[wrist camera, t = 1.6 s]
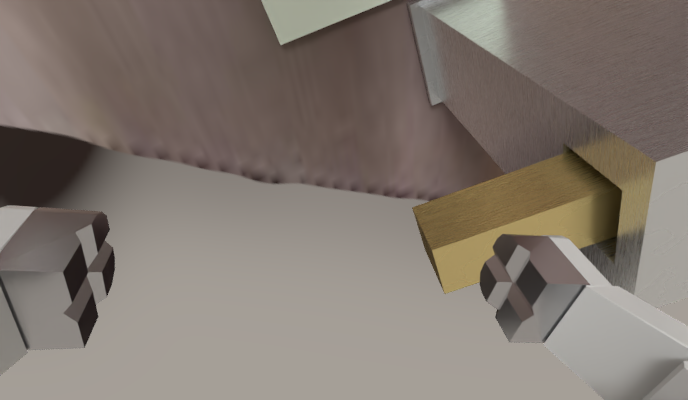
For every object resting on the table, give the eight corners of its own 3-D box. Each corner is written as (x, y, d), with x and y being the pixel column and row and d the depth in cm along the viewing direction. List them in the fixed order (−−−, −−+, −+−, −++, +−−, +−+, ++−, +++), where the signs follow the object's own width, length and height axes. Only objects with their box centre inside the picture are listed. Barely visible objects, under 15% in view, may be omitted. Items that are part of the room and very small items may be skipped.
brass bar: (425, 249, 24) (444, 293, 22) (412, 207, 22) (431, 250, 20) (745, 138, 23) (811, 170, 20) (763, 82, 21) (839, 109, 18)
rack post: (429, 102, 46) (610, 327, 21) (407, 3, 40) (630, 160, 15) (566, 49, 45) (933, 225, 20) (566, -62, 38) (1112, -9, 13)
